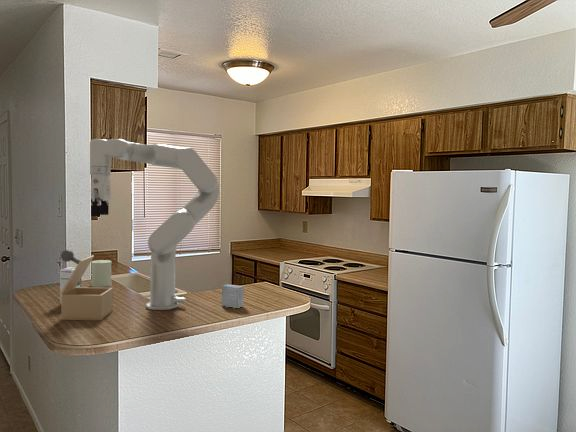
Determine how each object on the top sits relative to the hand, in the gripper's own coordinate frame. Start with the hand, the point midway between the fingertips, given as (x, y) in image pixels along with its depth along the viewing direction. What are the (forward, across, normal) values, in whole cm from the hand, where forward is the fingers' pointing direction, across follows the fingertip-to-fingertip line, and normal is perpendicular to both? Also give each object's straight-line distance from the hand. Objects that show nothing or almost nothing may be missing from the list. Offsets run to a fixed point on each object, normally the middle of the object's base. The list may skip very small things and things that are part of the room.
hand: (100, 215), depth 186 cm
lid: (+21, -11, +4) cm, 24 cm away
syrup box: (+36, +5, +13) cm, 39 cm away
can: (+36, +42, +13) cm, 57 cm away
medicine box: (+37, +3, -52) cm, 64 cm away
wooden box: (+36, -12, 0) cm, 38 cm away
